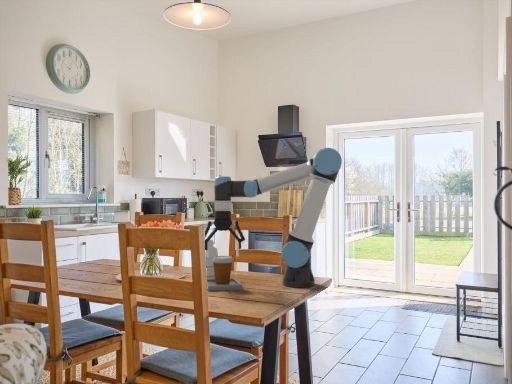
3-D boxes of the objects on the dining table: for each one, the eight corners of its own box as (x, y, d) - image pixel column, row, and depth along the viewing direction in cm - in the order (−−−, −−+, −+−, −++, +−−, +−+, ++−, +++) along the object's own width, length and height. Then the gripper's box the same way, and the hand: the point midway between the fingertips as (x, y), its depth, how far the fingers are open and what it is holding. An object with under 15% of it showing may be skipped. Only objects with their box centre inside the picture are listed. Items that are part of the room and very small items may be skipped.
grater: (199, 282, 210) (199, 240, 211) (196, 278, 220) (196, 238, 221) (220, 281, 213) (220, 240, 213) (216, 277, 223) (217, 238, 223)
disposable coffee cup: (228, 286, 194) (228, 259, 194) (208, 284, 197) (208, 258, 197) (235, 282, 203) (236, 256, 203) (216, 280, 206) (217, 255, 206)
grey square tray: (235, 283, 209) (235, 278, 209) (241, 289, 195) (241, 284, 195) (203, 284, 206) (203, 279, 206) (208, 291, 191) (208, 285, 191)
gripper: (247, 209, 207) (247, 254, 207) (194, 210, 201) (194, 256, 201) (251, 210, 200) (251, 256, 200) (196, 210, 194) (196, 259, 194)
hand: (223, 257), depth 200 cm, fingers open, 13 cm apart
